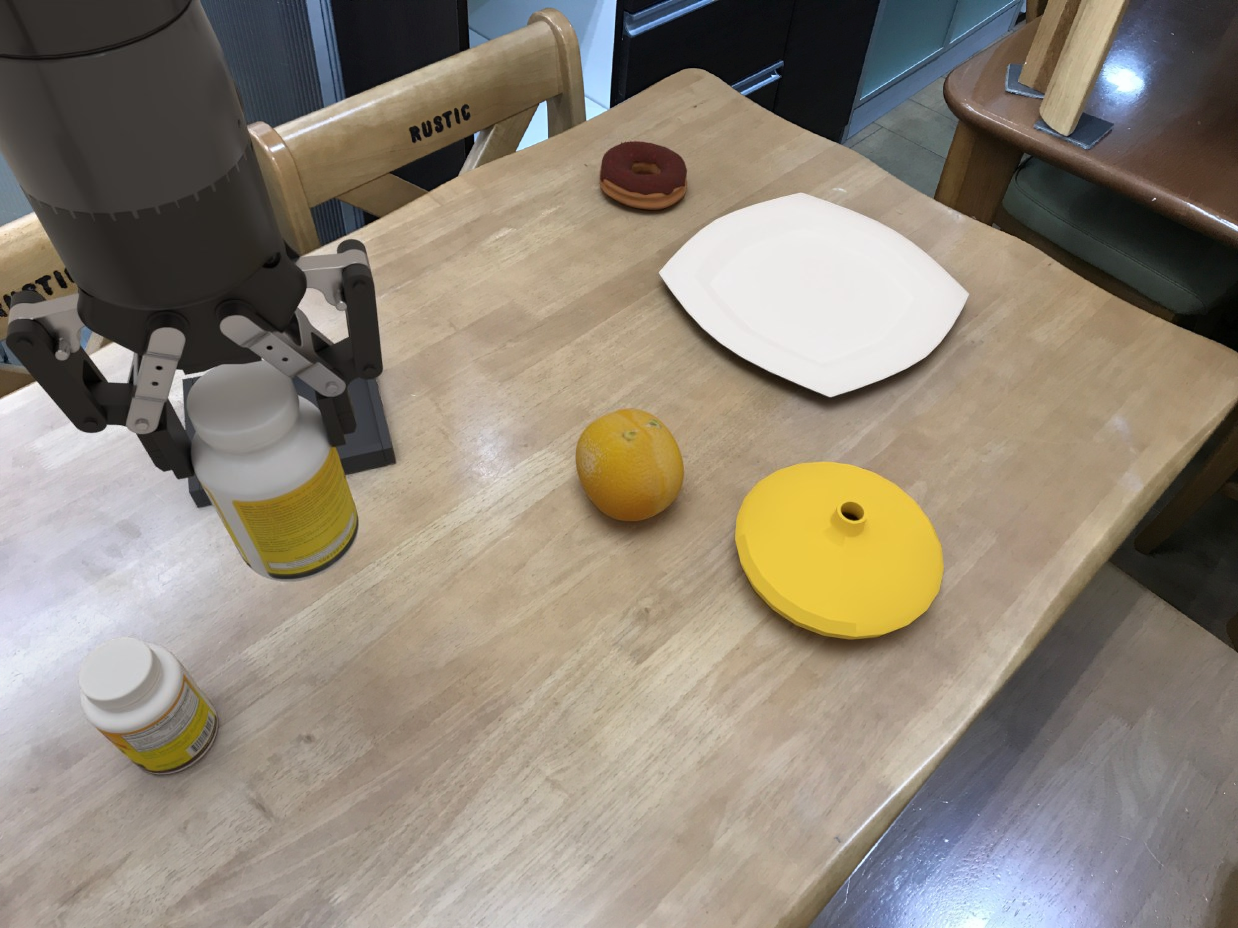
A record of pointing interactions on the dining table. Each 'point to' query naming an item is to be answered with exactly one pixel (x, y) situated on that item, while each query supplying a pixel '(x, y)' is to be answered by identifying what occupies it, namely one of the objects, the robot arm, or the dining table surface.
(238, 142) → the robot arm
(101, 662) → the supplement bottle
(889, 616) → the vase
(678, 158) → the donut
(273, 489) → the pill bottle
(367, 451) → the holder
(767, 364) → the plate
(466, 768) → the dining table surface
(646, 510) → the fruit
